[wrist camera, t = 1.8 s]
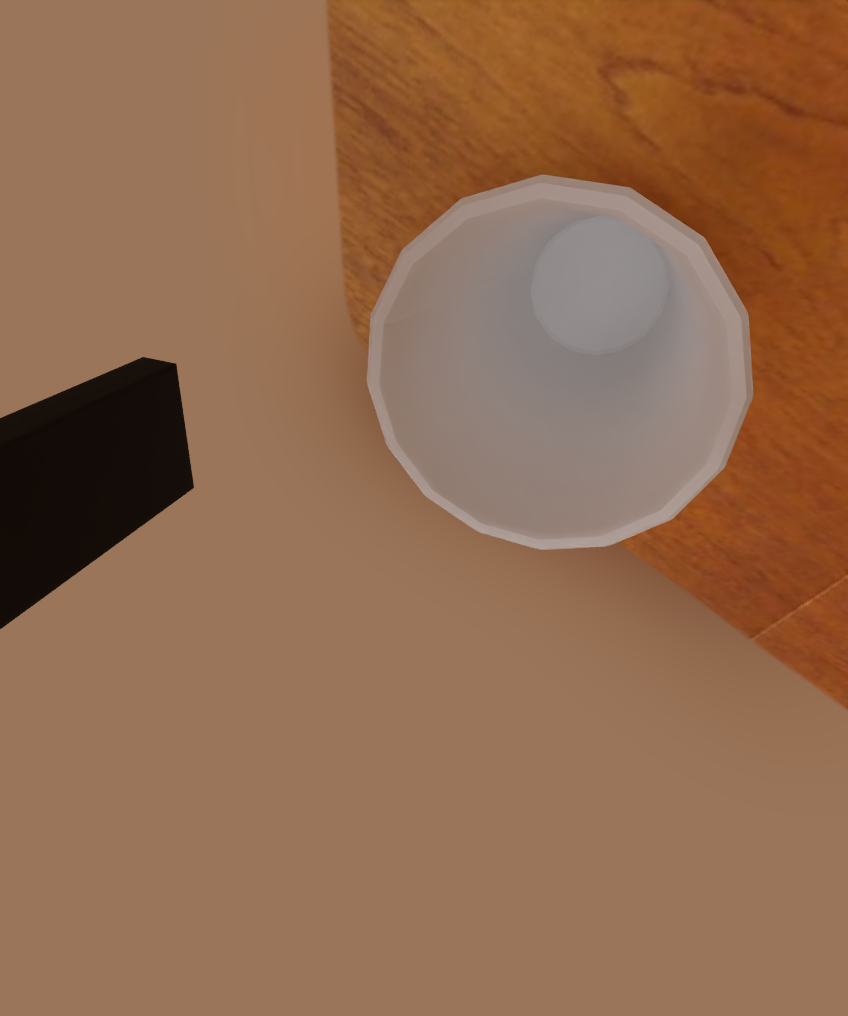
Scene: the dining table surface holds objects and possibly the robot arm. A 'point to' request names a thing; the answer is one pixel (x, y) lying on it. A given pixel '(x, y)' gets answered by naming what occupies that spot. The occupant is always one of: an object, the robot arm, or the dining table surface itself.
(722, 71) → the dining table surface
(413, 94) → the dining table surface
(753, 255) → the dining table surface
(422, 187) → the dining table surface
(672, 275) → the cup
